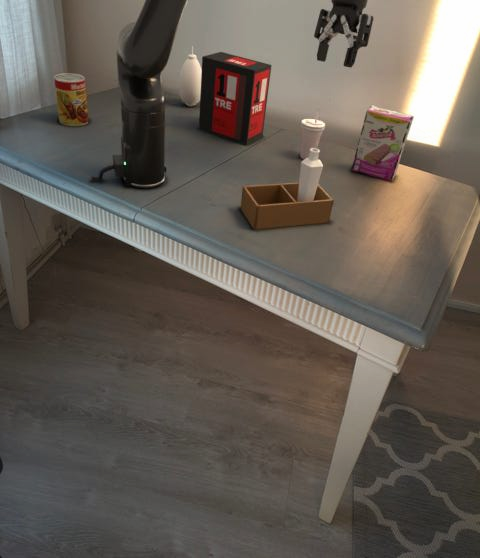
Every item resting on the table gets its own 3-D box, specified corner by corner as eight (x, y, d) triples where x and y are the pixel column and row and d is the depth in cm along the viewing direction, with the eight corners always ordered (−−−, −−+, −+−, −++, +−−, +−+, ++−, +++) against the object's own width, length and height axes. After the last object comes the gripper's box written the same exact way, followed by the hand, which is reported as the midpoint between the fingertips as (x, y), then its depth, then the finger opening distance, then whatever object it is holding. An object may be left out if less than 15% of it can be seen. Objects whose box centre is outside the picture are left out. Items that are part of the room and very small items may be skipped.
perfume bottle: (290, 208, 114) (301, 145, 105) (309, 209, 114) (322, 146, 105) (293, 218, 110) (305, 154, 101) (313, 219, 110) (326, 155, 102)
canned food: (84, 127, 140) (80, 83, 132) (55, 124, 139) (50, 80, 132) (91, 117, 146) (87, 74, 139) (64, 115, 146) (59, 71, 138)
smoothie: (317, 163, 135) (328, 112, 127) (294, 159, 136) (302, 108, 127) (319, 154, 140) (329, 104, 132) (296, 150, 141) (305, 100, 133)
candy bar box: (350, 171, 133) (365, 109, 123) (355, 164, 137) (370, 104, 127) (392, 182, 130) (411, 120, 120) (395, 175, 134) (414, 114, 124)
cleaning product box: (198, 129, 147) (202, 56, 135) (216, 121, 153) (220, 51, 141) (246, 145, 141) (254, 70, 129) (262, 136, 147) (271, 64, 135)
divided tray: (254, 229, 105) (257, 206, 101) (240, 208, 111) (242, 186, 108) (328, 222, 110) (333, 200, 107) (311, 202, 117) (315, 181, 113)
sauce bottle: (175, 107, 160) (176, 46, 149) (181, 100, 166) (183, 41, 156) (199, 110, 160) (202, 50, 149) (204, 103, 166) (207, 44, 155)
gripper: (318, -24, 108) (300, 57, 115) (367, -22, 98) (345, 66, 105) (341, -16, 113) (323, 61, 119) (391, -14, 103) (368, 71, 110)
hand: (333, 63), depth 112 cm, fingers open, 8 cm apart
